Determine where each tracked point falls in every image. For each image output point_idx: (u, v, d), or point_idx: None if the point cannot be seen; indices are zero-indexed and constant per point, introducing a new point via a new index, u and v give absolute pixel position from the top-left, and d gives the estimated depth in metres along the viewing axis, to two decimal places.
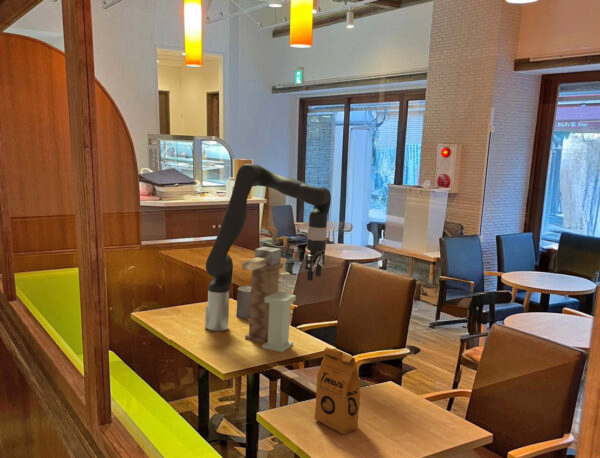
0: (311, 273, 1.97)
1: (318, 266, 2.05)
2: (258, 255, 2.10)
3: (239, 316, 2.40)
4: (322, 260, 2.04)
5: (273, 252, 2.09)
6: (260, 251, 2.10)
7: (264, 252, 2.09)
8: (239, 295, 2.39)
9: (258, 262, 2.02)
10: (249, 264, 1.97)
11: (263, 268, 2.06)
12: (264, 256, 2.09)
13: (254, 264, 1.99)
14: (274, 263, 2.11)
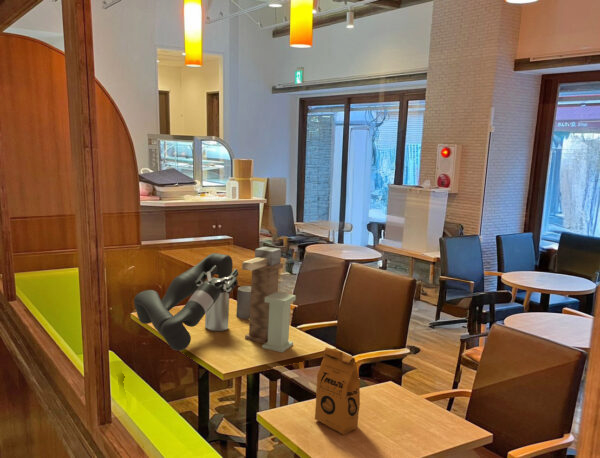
0: (234, 274, 1.79)
1: (211, 274, 1.82)
2: (258, 255, 2.10)
3: (239, 316, 2.40)
4: (207, 276, 1.79)
5: (273, 252, 2.09)
6: (260, 251, 2.10)
7: (264, 252, 2.09)
8: (239, 295, 2.39)
9: (258, 262, 2.02)
10: (249, 264, 1.97)
11: (263, 268, 2.06)
12: (264, 256, 2.09)
13: (254, 264, 1.99)
14: (274, 263, 2.11)
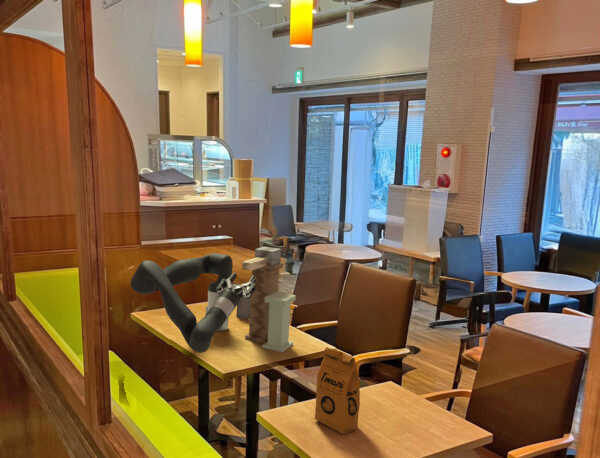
0: (252, 281, 1.92)
1: (231, 281, 1.95)
2: (258, 255, 2.10)
3: (239, 316, 2.40)
4: (227, 283, 1.92)
5: (273, 252, 2.09)
6: (260, 251, 2.10)
7: (264, 252, 2.09)
8: None
9: (258, 262, 2.02)
10: (249, 264, 1.97)
11: (263, 268, 2.06)
12: (264, 256, 2.09)
13: (254, 264, 1.99)
14: (274, 263, 2.11)
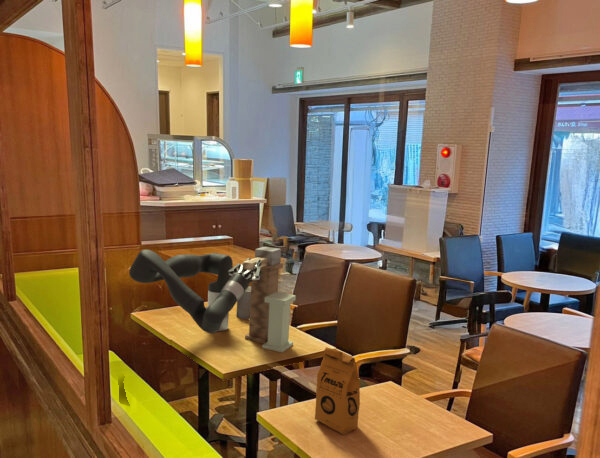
0: (257, 264, 2.00)
1: None
2: (258, 255, 2.10)
3: (239, 316, 2.40)
4: (240, 267, 1.98)
5: (273, 252, 2.09)
6: (260, 251, 2.10)
7: (264, 252, 2.09)
8: None
9: None
10: (249, 264, 1.97)
11: (263, 268, 2.06)
12: (264, 256, 2.09)
13: (254, 264, 1.99)
14: (274, 263, 2.11)
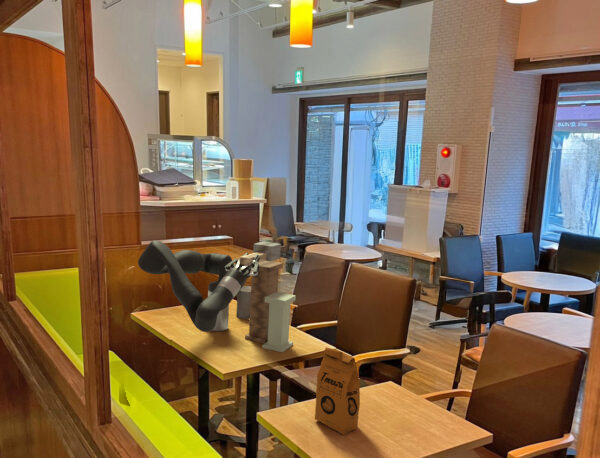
0: (255, 259, 1.89)
1: None
2: (257, 250, 2.00)
3: (239, 316, 2.40)
4: (237, 262, 1.88)
5: (272, 247, 1.98)
6: (259, 246, 2.00)
7: (263, 247, 1.99)
8: (239, 295, 2.39)
9: None
10: (246, 259, 1.87)
11: (263, 268, 2.06)
12: (263, 251, 1.99)
13: (252, 259, 1.89)
14: (273, 259, 2.00)
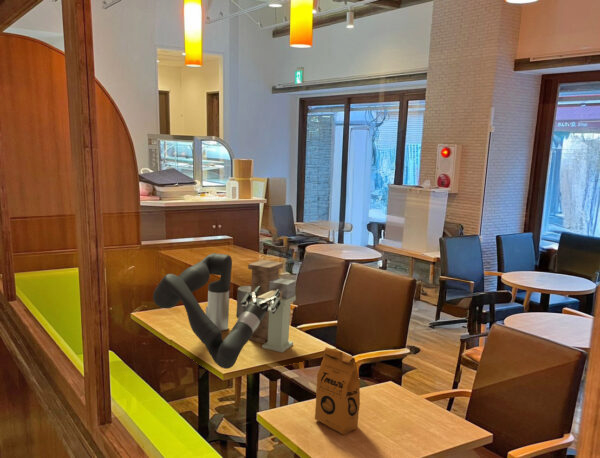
0: (276, 295, 1.90)
1: (255, 295, 1.93)
2: (273, 288, 2.02)
3: (239, 316, 2.40)
4: (252, 297, 1.90)
5: (288, 285, 2.00)
6: (274, 284, 2.02)
7: (279, 285, 2.01)
8: (239, 295, 2.39)
9: None
10: None
11: (263, 268, 2.06)
12: (279, 289, 2.01)
13: None
14: (289, 296, 2.02)
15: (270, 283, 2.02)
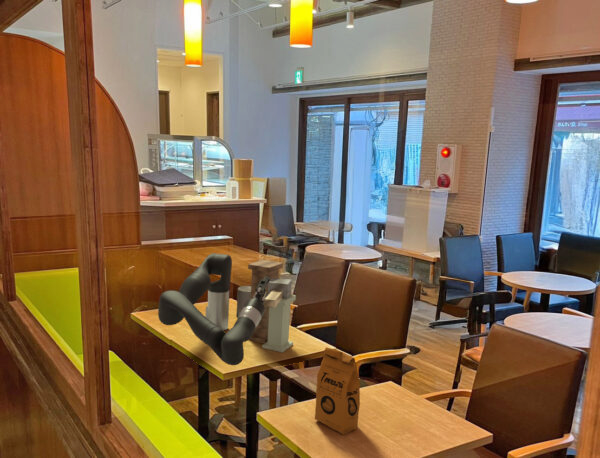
0: None
1: None
2: (272, 288, 2.01)
3: None
4: None
5: (288, 284, 2.01)
6: (274, 284, 2.01)
7: (278, 285, 2.01)
8: (239, 295, 2.39)
9: (278, 297, 1.93)
10: (273, 301, 1.88)
11: (263, 268, 2.06)
12: (278, 289, 2.01)
13: (276, 300, 1.90)
14: (288, 295, 2.03)
15: (269, 284, 2.01)
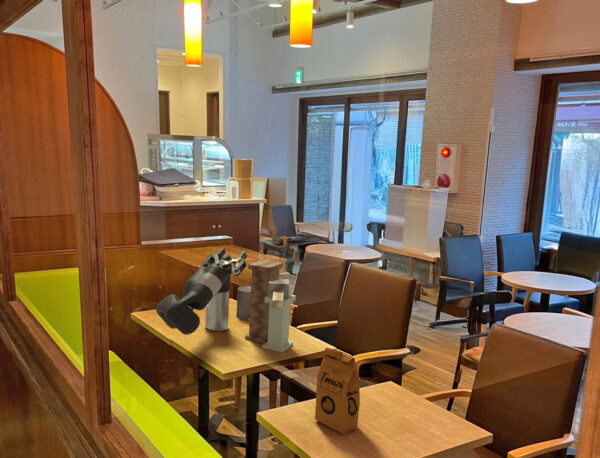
0: None
1: None
2: (272, 289, 2.00)
3: (239, 316, 2.40)
4: (234, 269, 1.71)
5: (288, 284, 2.01)
6: (275, 285, 2.00)
7: (279, 285, 2.00)
8: (239, 295, 2.39)
9: None
10: (280, 302, 1.87)
11: (263, 268, 2.06)
12: (279, 289, 2.00)
13: None
14: None
15: (270, 284, 2.00)
